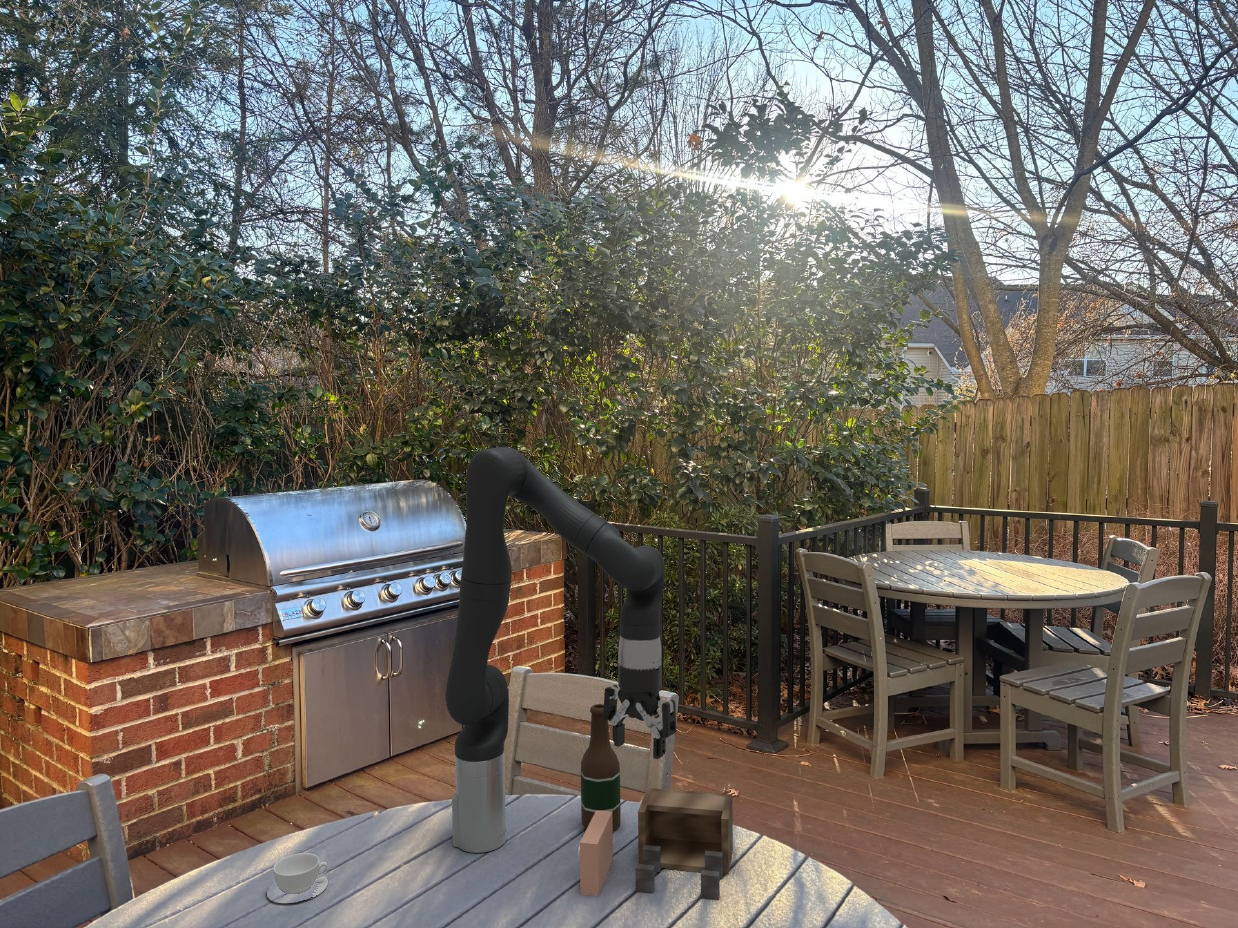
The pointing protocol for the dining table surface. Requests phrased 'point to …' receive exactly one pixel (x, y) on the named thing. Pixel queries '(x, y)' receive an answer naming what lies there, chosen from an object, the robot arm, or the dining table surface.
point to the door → (596, 852)
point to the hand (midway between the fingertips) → (638, 751)
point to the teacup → (300, 873)
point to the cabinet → (685, 837)
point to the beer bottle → (600, 772)
